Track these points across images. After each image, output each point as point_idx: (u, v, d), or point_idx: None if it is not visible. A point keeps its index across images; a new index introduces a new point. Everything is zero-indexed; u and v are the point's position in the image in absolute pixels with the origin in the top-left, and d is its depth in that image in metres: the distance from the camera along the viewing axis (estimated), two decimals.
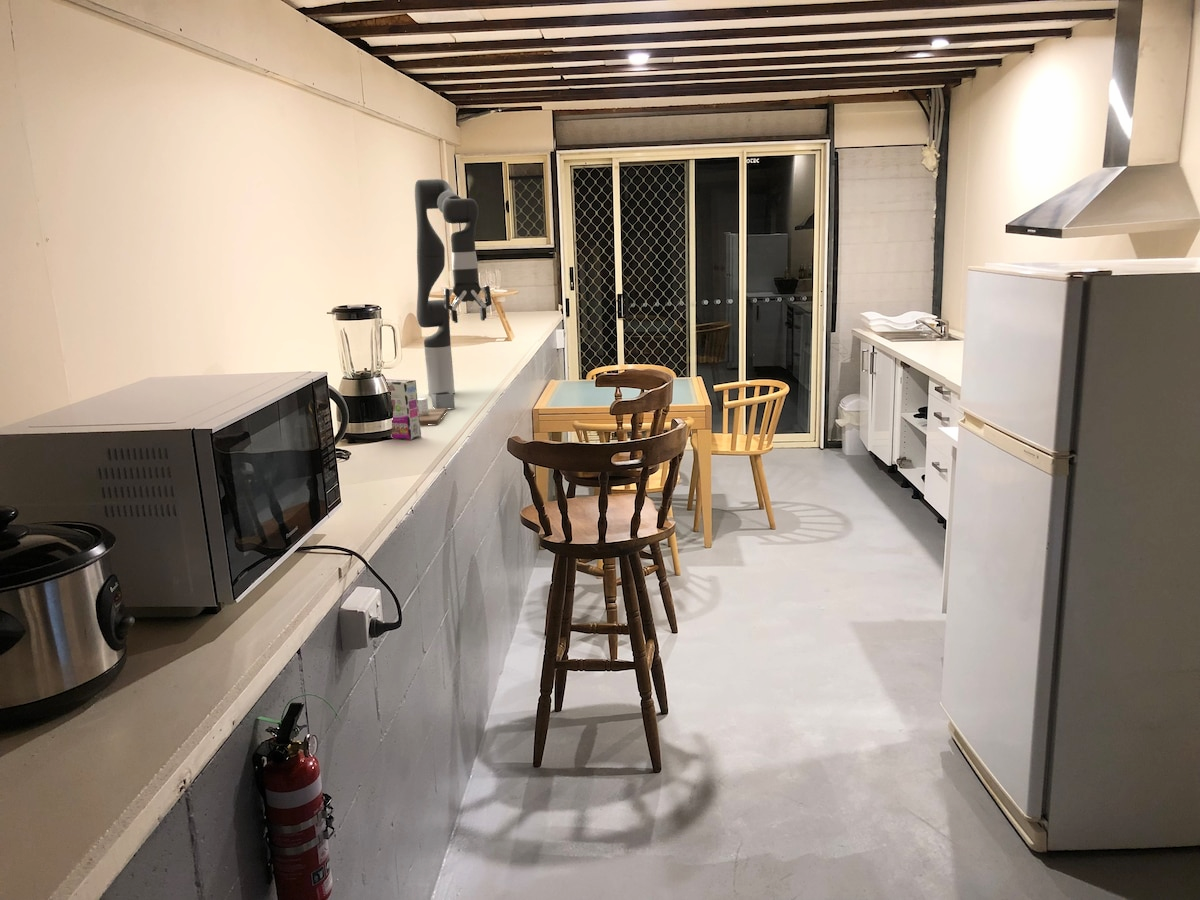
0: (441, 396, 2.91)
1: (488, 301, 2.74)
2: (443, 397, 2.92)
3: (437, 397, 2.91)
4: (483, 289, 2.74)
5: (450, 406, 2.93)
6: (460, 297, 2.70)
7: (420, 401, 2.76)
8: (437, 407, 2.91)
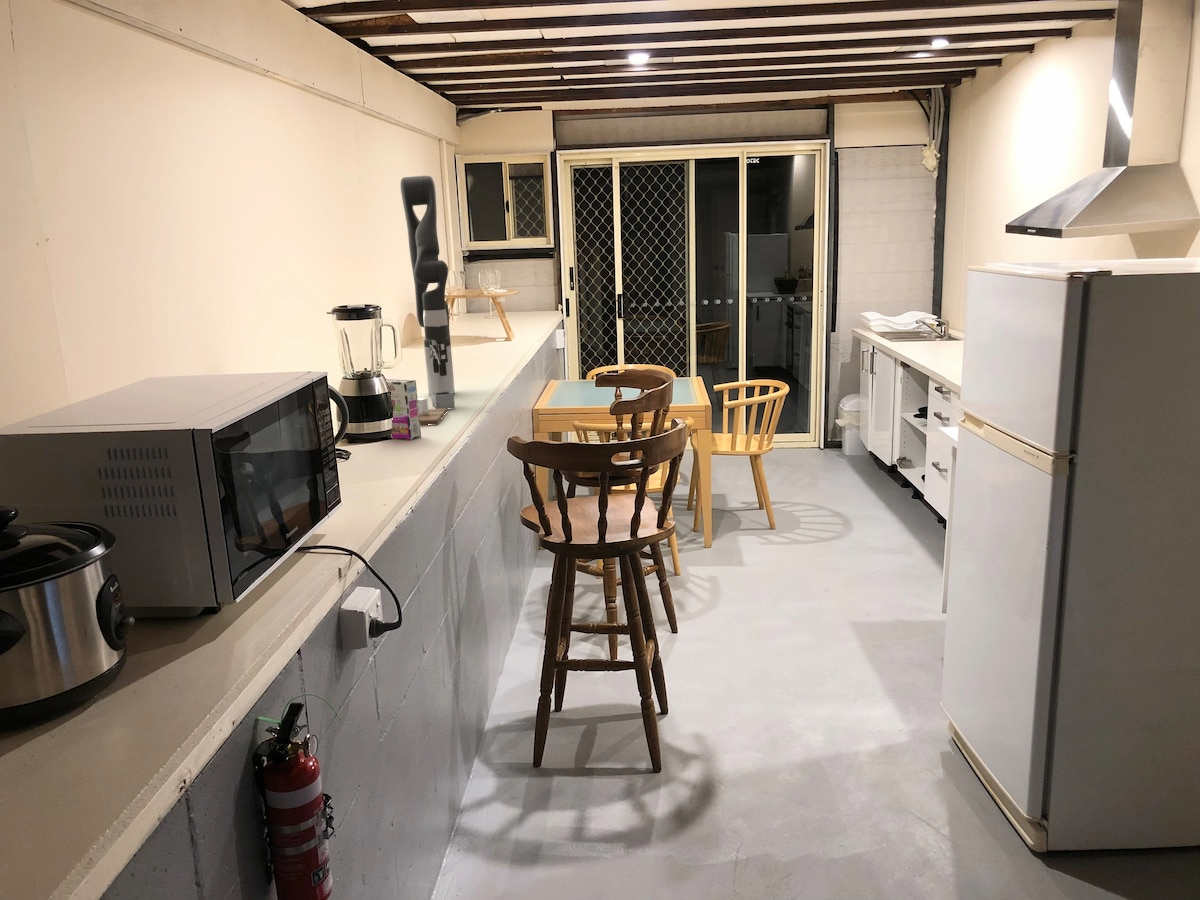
0: (441, 396, 2.91)
1: None
2: (443, 397, 2.92)
3: (437, 397, 2.91)
4: None
5: (450, 406, 2.93)
6: None
7: (420, 401, 2.76)
8: (437, 407, 2.91)
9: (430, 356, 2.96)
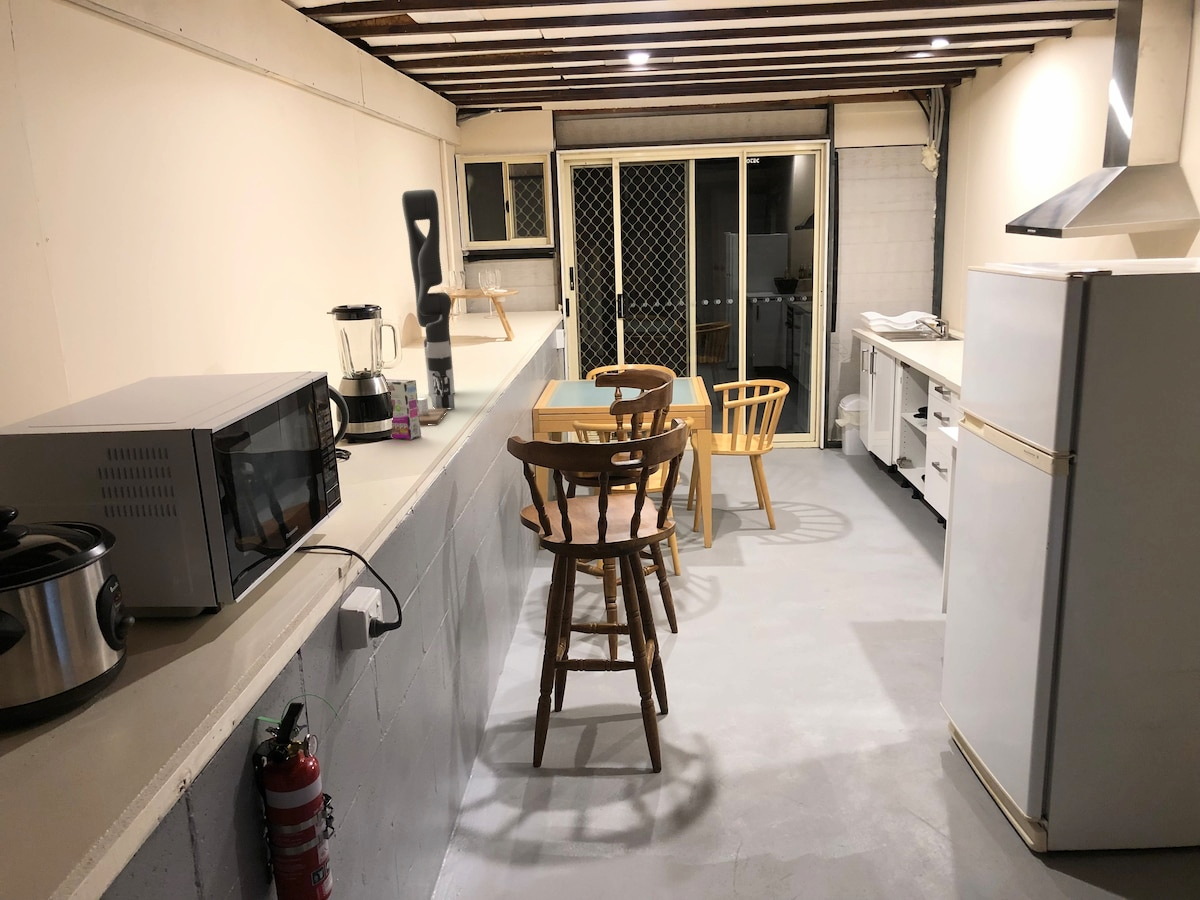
0: None
1: None
2: None
3: (437, 397, 2.91)
4: None
5: (450, 406, 2.93)
6: None
7: (420, 401, 2.76)
8: (437, 407, 2.91)
9: (434, 388, 2.98)
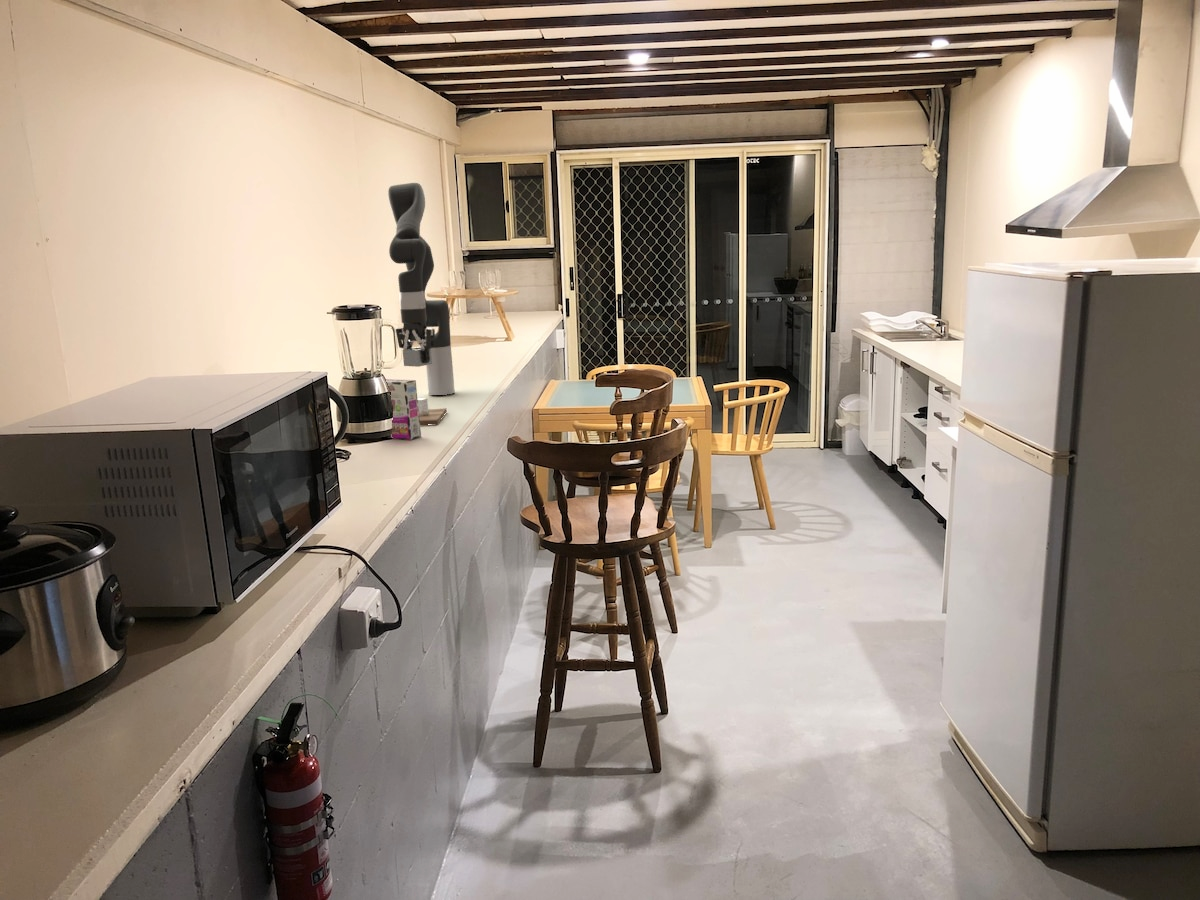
0: (421, 350, 2.71)
1: None
2: None
3: (418, 351, 2.70)
4: None
5: None
6: None
7: (420, 401, 2.76)
8: (419, 362, 2.71)
9: (400, 345, 2.75)
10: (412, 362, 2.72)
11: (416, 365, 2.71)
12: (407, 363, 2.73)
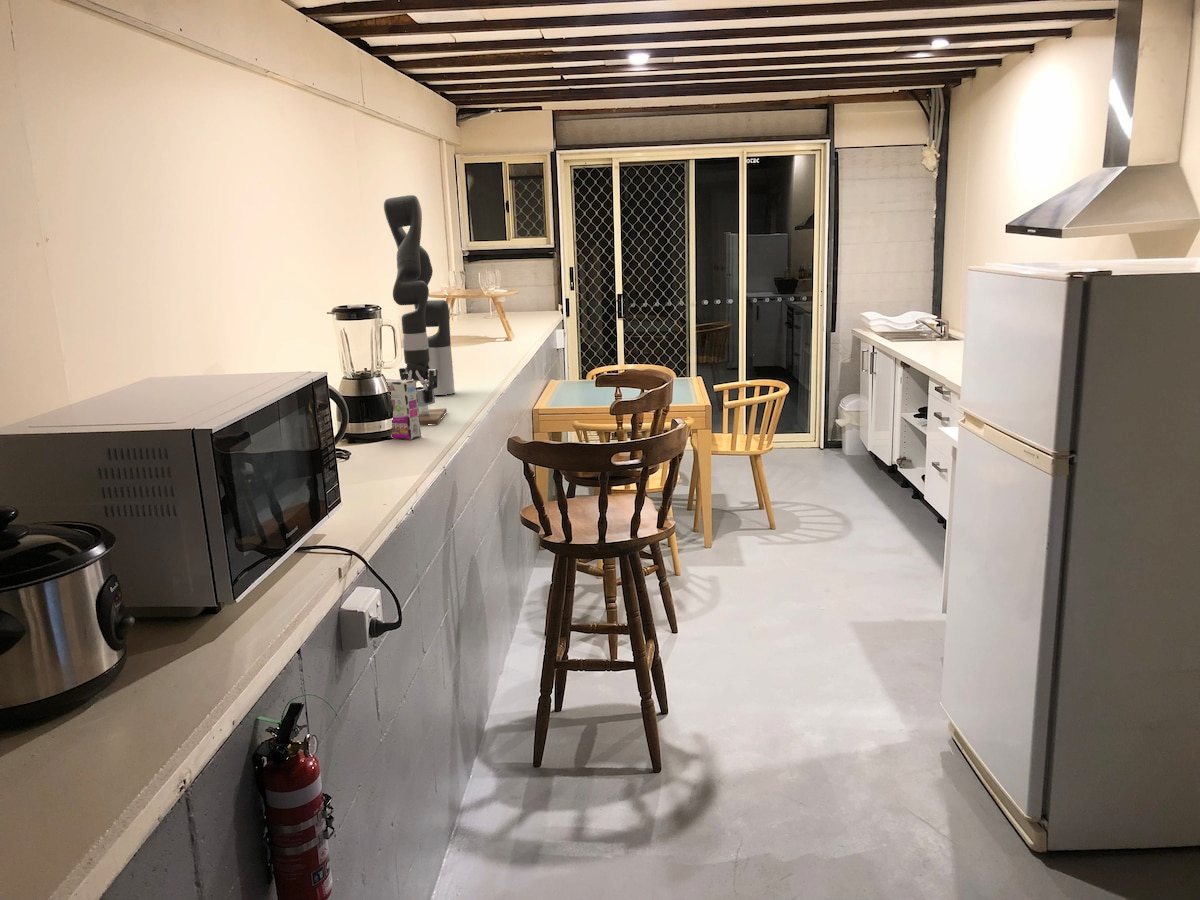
0: (424, 390, 2.74)
1: None
2: None
3: (421, 392, 2.73)
4: None
5: None
6: None
7: None
8: (422, 402, 2.74)
9: None
10: None
11: (419, 405, 2.74)
12: None
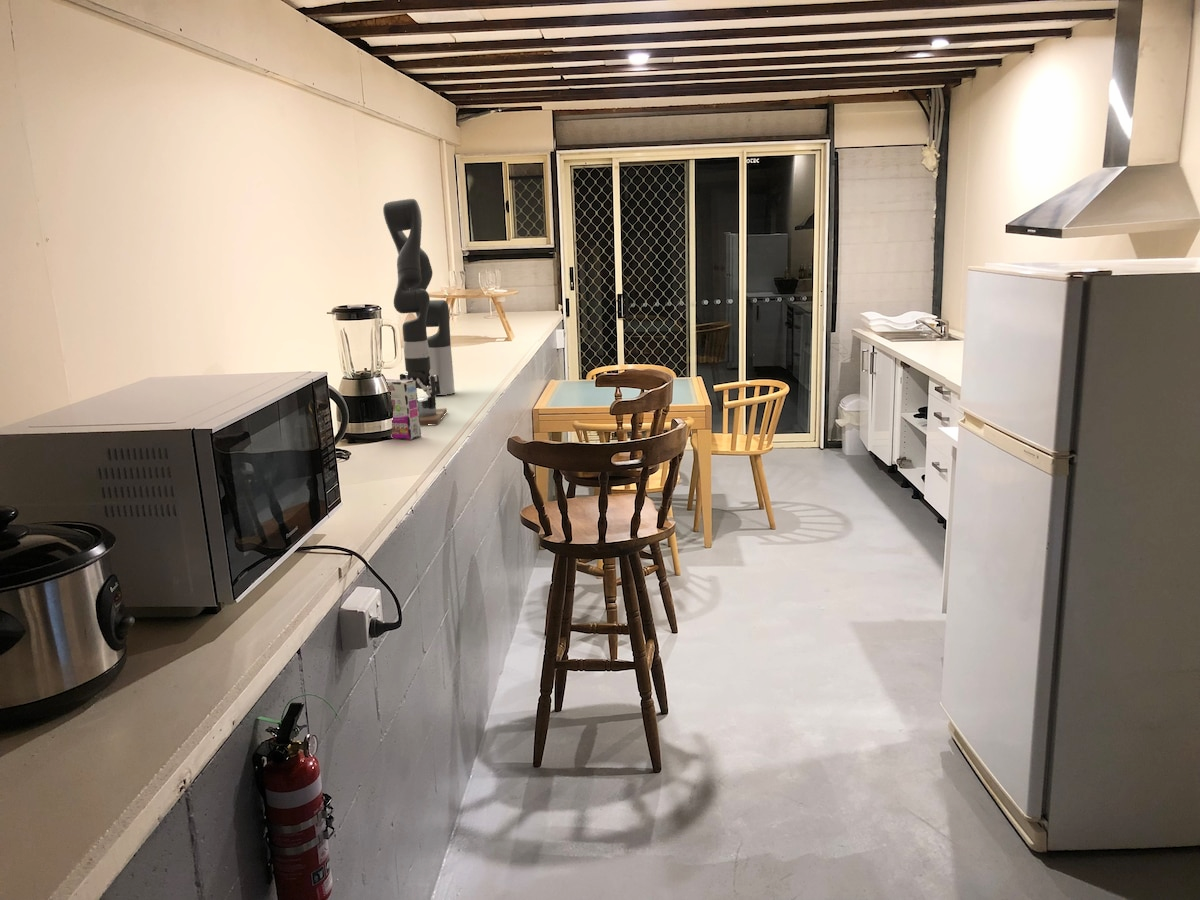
0: (426, 401, 2.75)
1: None
2: (427, 402, 2.76)
3: (423, 402, 2.74)
4: None
5: (432, 411, 2.78)
6: None
7: None
8: (423, 413, 2.75)
9: None
10: None
11: (420, 416, 2.75)
12: None
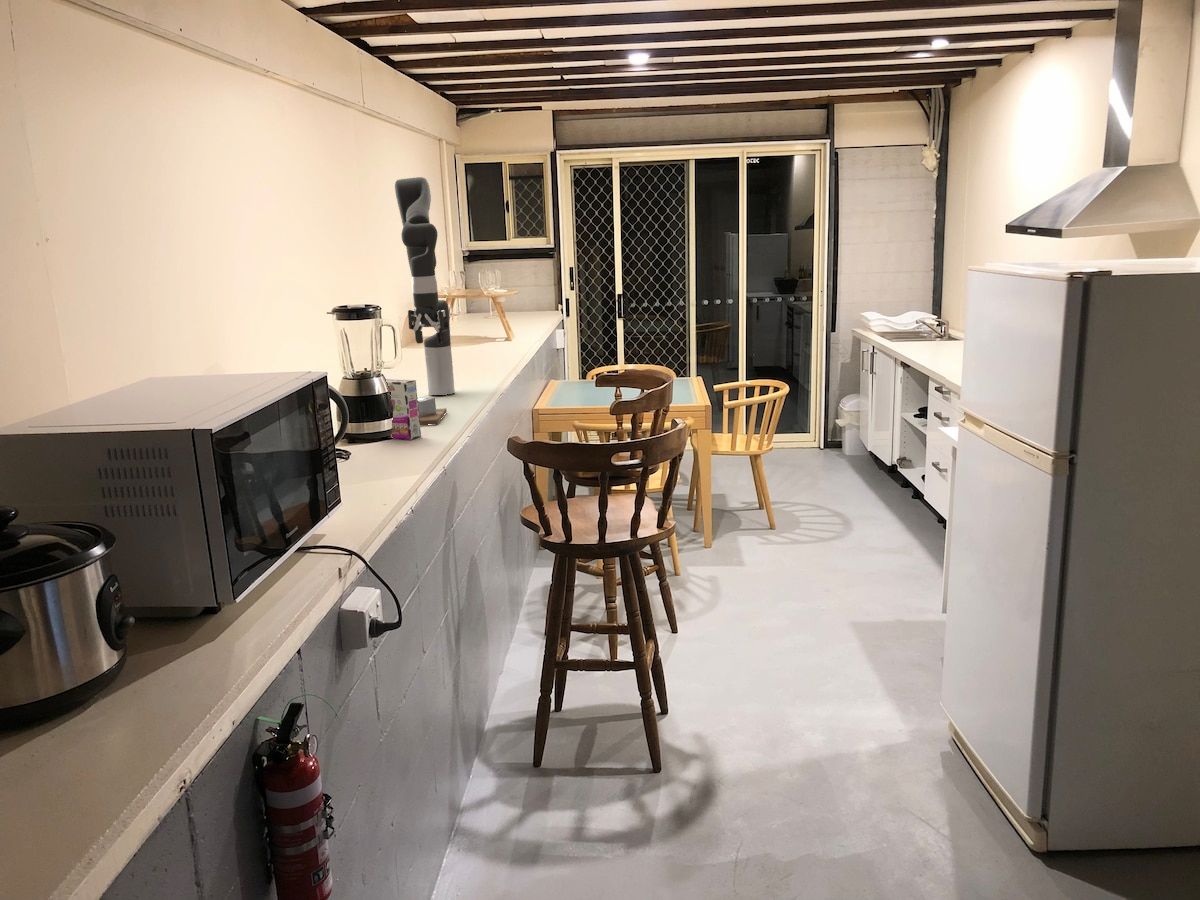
0: (426, 401, 2.75)
1: None
2: (427, 402, 2.76)
3: (423, 402, 2.74)
4: None
5: (432, 411, 2.78)
6: None
7: None
8: (423, 413, 2.75)
9: (410, 326, 2.80)
10: None
11: (420, 416, 2.75)
12: None
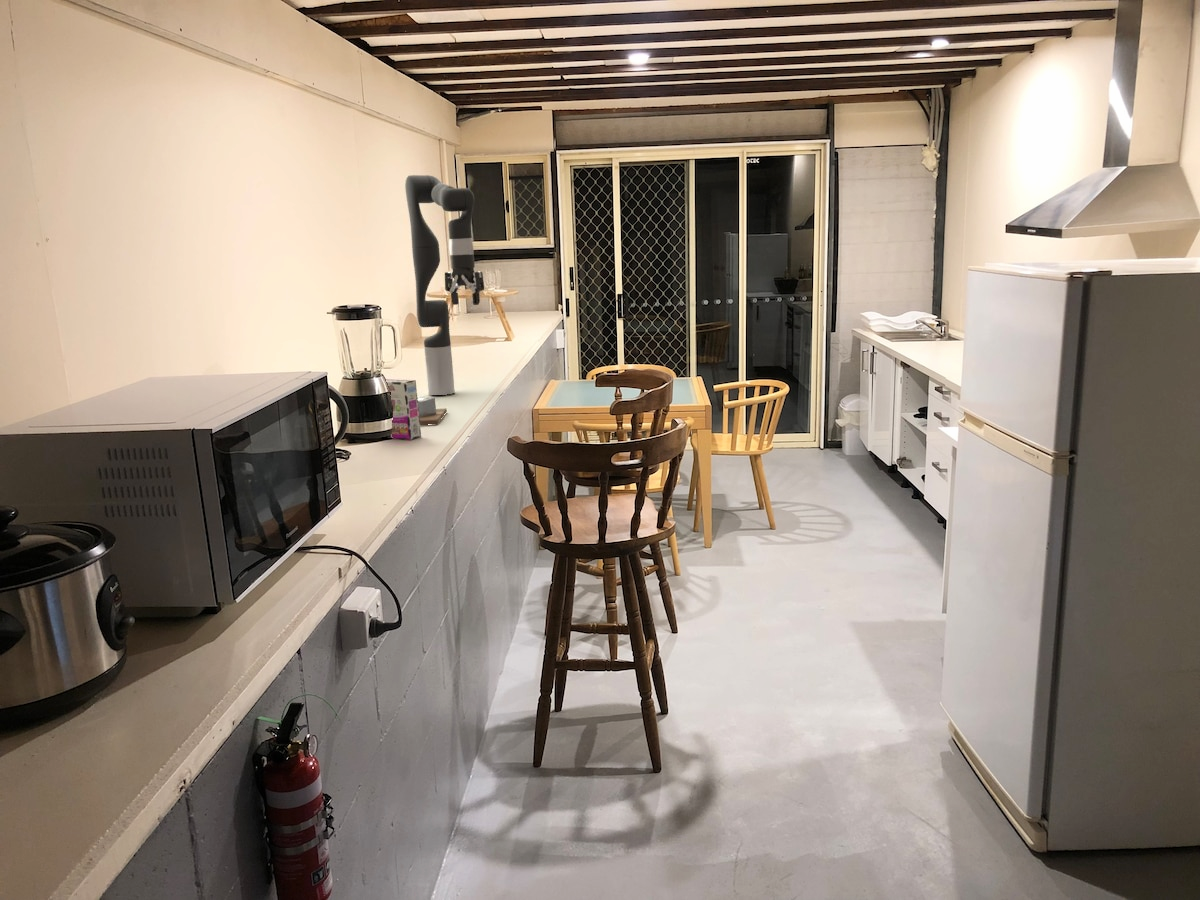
0: (426, 401, 2.75)
1: None
2: (427, 402, 2.76)
3: (423, 402, 2.74)
4: None
5: (432, 411, 2.78)
6: None
7: None
8: (423, 413, 2.75)
9: (446, 288, 2.91)
10: None
11: (420, 416, 2.75)
12: None
